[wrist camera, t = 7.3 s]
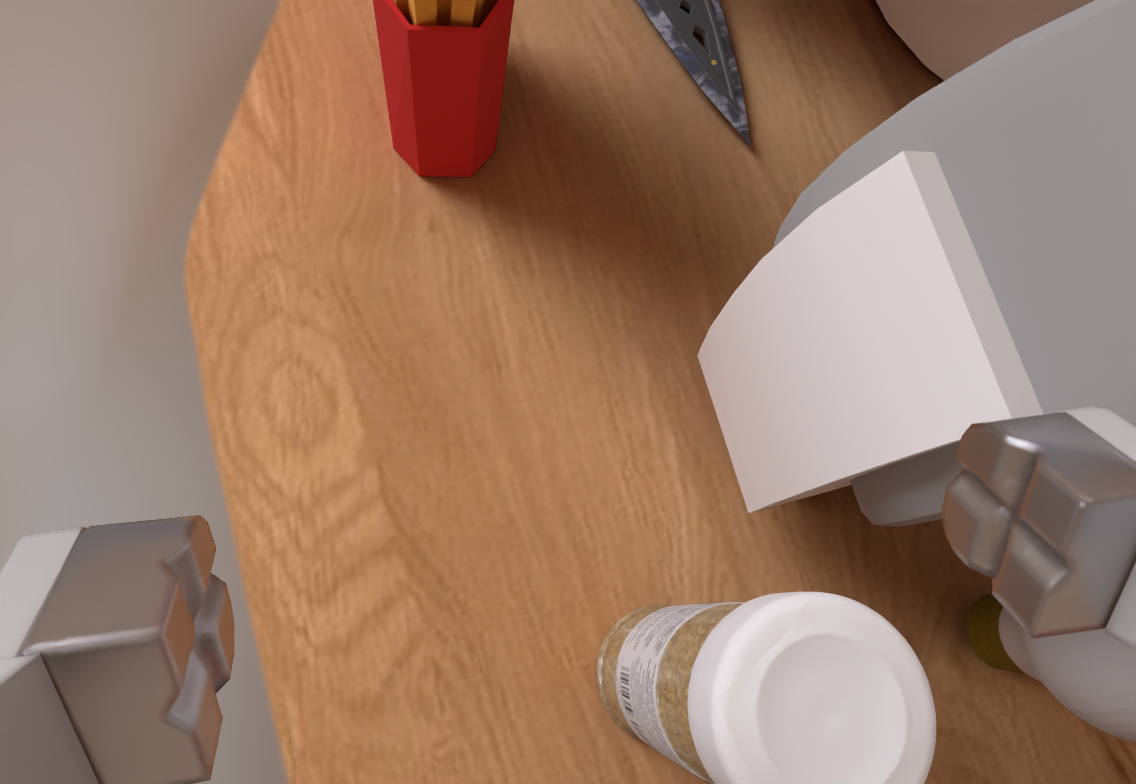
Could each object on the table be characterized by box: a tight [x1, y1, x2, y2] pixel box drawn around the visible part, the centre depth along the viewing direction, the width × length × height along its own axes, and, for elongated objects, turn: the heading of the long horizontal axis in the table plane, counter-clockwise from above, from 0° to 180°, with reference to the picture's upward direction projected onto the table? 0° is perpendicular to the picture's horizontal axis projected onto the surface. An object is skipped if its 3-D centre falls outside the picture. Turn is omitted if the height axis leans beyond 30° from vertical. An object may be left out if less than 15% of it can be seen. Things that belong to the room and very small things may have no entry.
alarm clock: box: [697, 0, 1136, 526], centre depth 22 cm, size 18×8×20 cm, turn 106°
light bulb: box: [967, 594, 1136, 743], centre depth 25 cm, size 6×6×10 cm
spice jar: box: [596, 592, 936, 784], centre depth 22 cm, size 5×5×14 cm
